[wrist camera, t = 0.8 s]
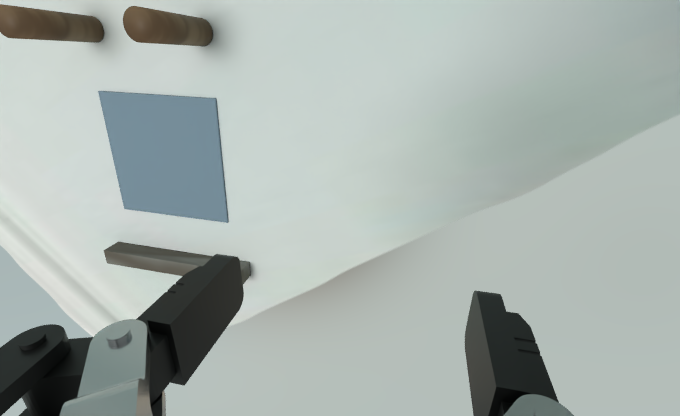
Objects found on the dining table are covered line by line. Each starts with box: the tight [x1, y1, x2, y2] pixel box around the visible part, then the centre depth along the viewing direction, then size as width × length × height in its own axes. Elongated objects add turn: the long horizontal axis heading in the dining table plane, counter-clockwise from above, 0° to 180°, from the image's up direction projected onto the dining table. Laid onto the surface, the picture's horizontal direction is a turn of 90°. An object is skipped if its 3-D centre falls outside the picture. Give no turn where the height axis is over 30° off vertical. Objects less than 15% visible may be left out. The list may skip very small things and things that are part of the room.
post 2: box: [123, 6, 213, 46], centre depth 33 cm, size 3×3×9 cm
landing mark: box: [98, 91, 228, 223], centre depth 43 cm, size 15×15×1 cm
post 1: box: [0, 5, 104, 42], centre depth 35 cm, size 3×3×9 cm
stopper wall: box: [104, 242, 250, 284], centre depth 48 cm, size 2×20×2 cm, turn 88°
